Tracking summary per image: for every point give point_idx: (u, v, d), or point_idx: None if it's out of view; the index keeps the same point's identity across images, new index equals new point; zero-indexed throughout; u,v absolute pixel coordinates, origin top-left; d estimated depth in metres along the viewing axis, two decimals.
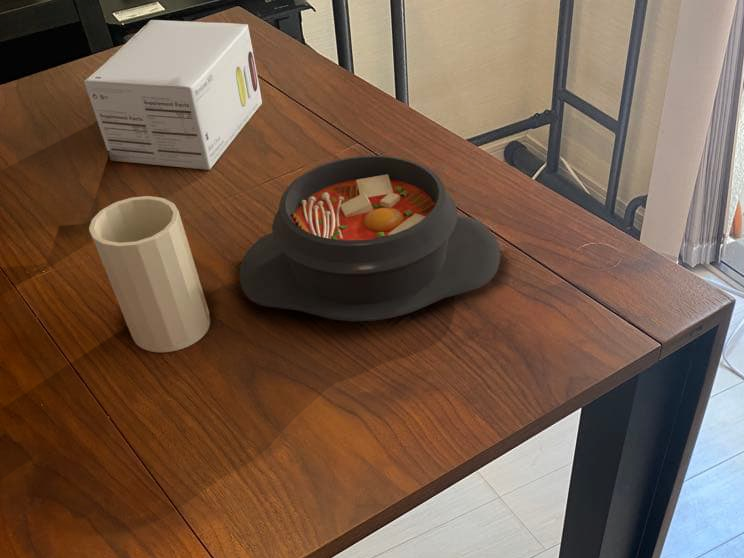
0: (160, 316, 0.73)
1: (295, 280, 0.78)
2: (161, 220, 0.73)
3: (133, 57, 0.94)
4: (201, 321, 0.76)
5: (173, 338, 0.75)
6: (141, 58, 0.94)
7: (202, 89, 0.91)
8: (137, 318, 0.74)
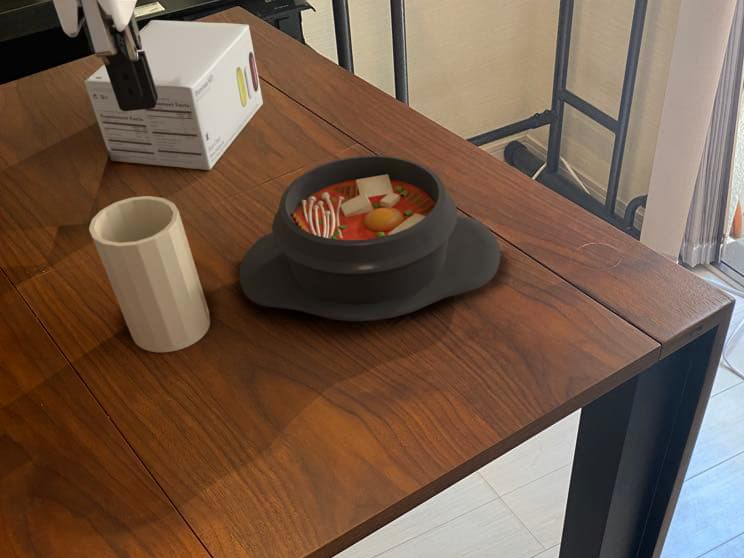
0: (160, 316, 0.73)
1: (295, 280, 0.78)
2: (161, 220, 0.73)
3: None
4: (201, 321, 0.76)
5: (173, 338, 0.75)
6: None
7: (203, 90, 0.91)
8: (137, 318, 0.74)
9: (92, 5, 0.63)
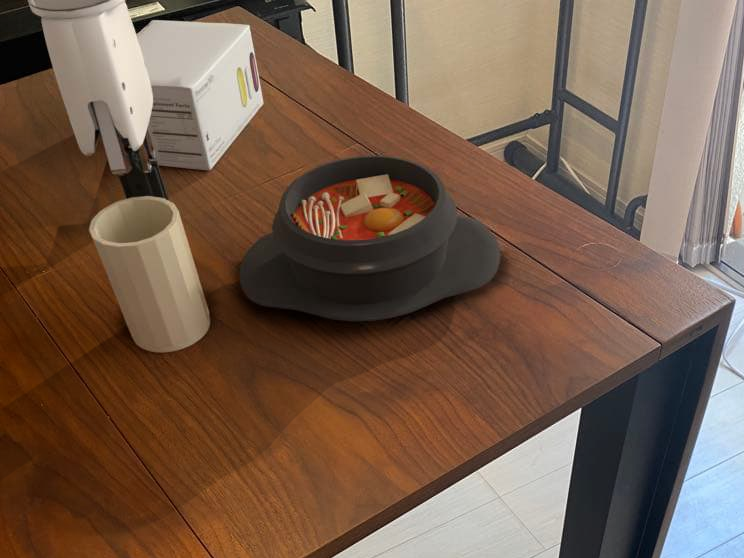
0: (160, 316, 0.73)
1: (295, 280, 0.78)
2: (161, 220, 0.73)
3: None
4: (201, 321, 0.76)
5: (173, 338, 0.75)
6: None
7: (203, 90, 0.91)
8: (137, 318, 0.74)
9: (109, 129, 0.65)
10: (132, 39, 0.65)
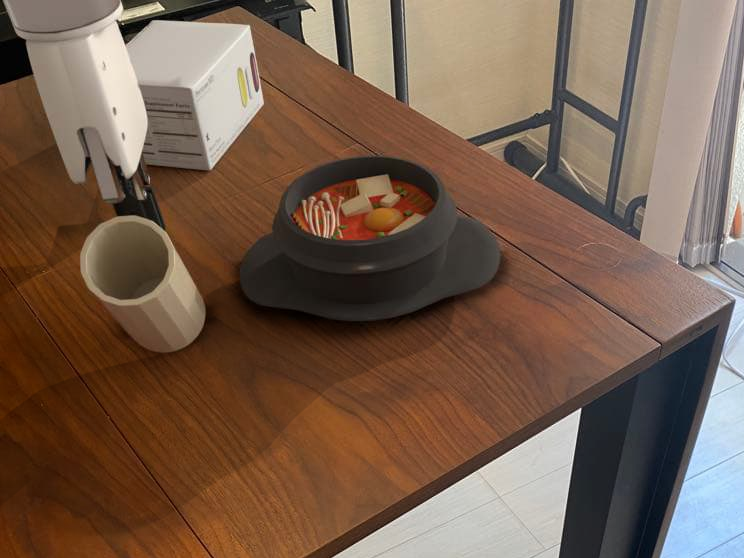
0: (161, 336, 0.72)
1: (295, 280, 0.78)
2: (150, 235, 0.68)
3: (134, 57, 0.94)
4: (199, 321, 0.75)
5: (173, 345, 0.75)
6: (143, 58, 0.94)
7: (203, 90, 0.91)
8: (137, 335, 0.73)
9: (100, 156, 0.61)
10: (124, 61, 0.62)
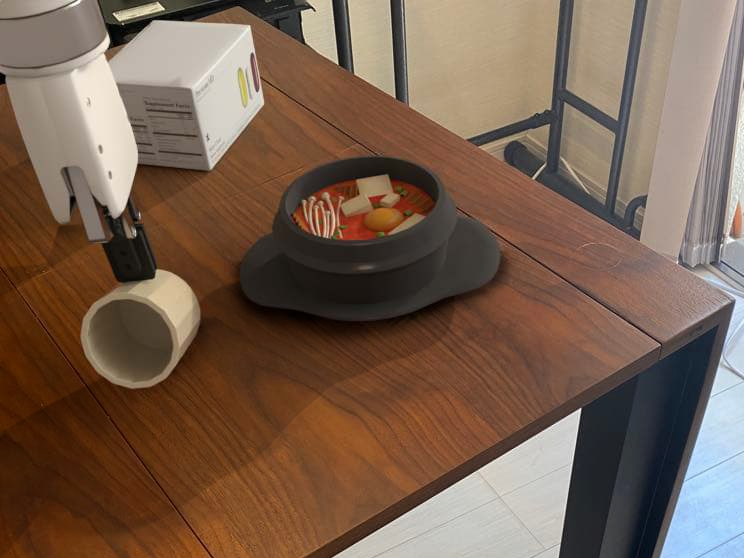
0: None
1: (295, 280, 0.78)
2: None
3: (134, 57, 0.94)
4: (196, 329, 0.74)
5: None
6: (143, 58, 0.94)
7: (203, 90, 0.91)
8: None
9: (86, 195, 0.58)
10: (111, 94, 0.58)
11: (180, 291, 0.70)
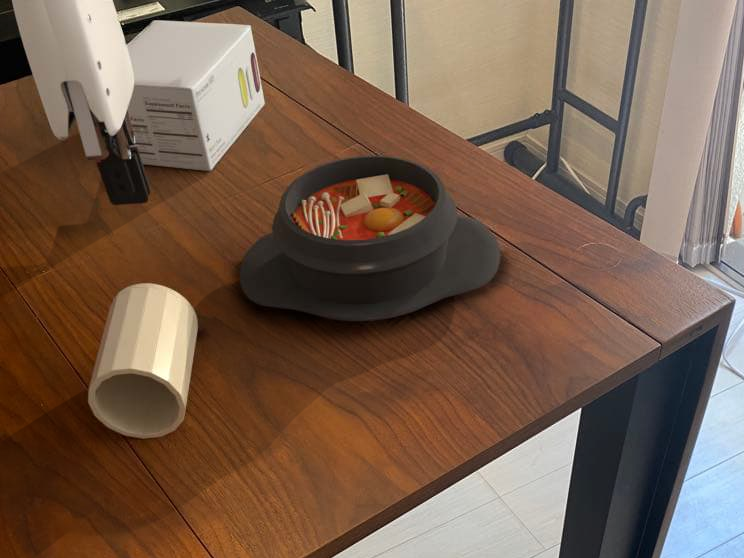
0: None
1: (295, 280, 0.78)
2: None
3: (134, 57, 0.94)
4: None
5: None
6: (143, 58, 0.94)
7: (203, 91, 0.91)
8: None
9: (84, 111, 0.61)
10: (110, 15, 0.61)
11: (177, 321, 0.69)
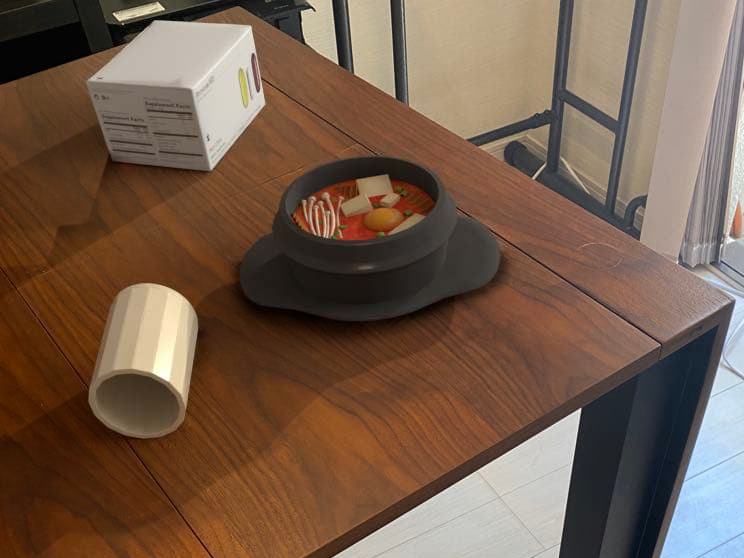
0: None
1: (295, 280, 0.78)
2: None
3: (135, 57, 0.94)
4: None
5: None
6: (144, 58, 0.94)
7: (204, 91, 0.91)
8: None
9: None
10: None
11: (178, 322, 0.69)
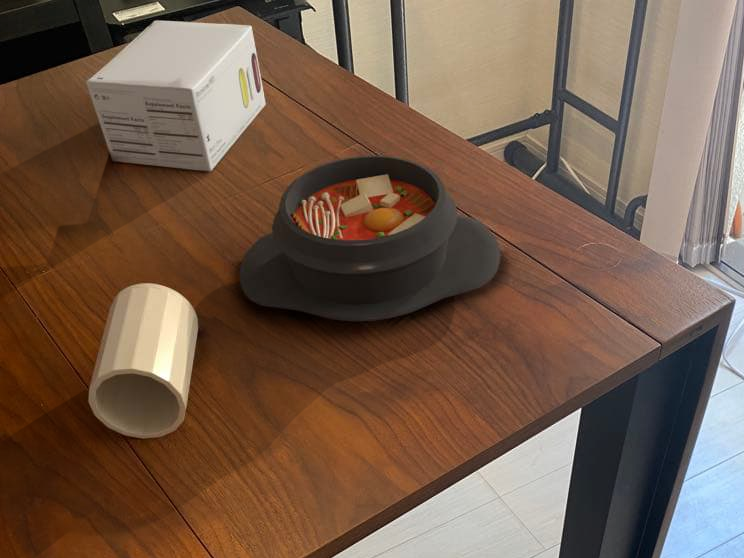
0: None
1: (295, 280, 0.78)
2: None
3: (135, 57, 0.94)
4: None
5: None
6: (144, 59, 0.94)
7: (204, 91, 0.91)
8: None
9: None
10: None
11: (178, 322, 0.69)
